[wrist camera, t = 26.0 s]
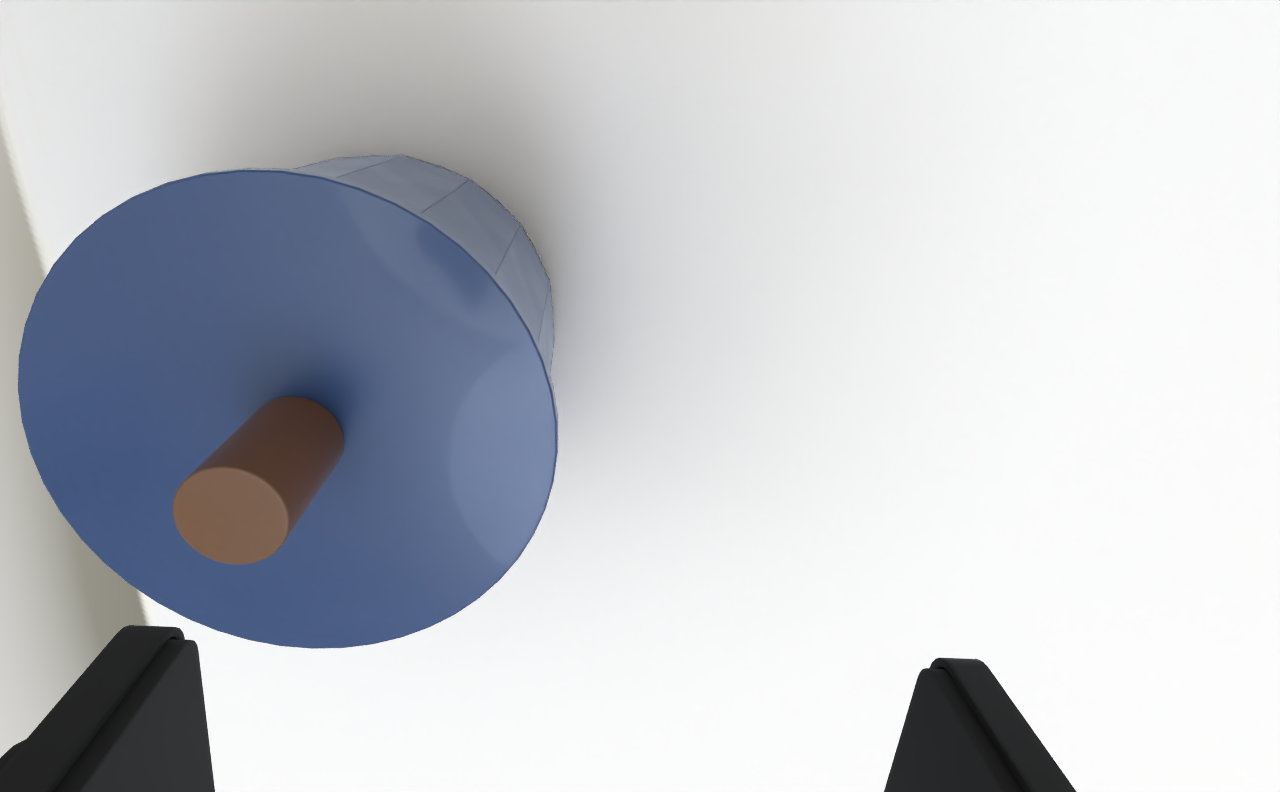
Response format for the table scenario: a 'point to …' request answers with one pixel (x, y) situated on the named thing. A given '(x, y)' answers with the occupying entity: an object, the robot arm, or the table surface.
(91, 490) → the tin lid
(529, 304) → the tin
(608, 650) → the table surface
